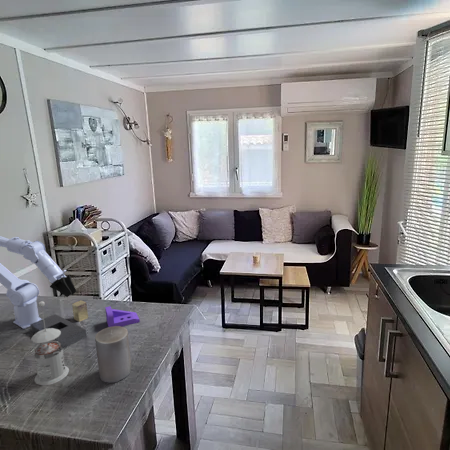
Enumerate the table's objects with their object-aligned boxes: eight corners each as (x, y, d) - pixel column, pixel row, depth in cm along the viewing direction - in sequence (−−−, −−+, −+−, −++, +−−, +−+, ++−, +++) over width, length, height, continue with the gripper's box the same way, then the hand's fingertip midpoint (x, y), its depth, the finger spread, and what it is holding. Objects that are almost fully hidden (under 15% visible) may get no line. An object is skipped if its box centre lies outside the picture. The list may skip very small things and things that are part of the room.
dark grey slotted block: (31, 331, 132) (30, 324, 131) (56, 320, 140) (55, 314, 139) (61, 349, 119) (60, 342, 118) (86, 336, 127) (85, 329, 126)
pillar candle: (106, 362, 111) (101, 322, 108) (135, 362, 111) (131, 322, 107) (94, 383, 102) (88, 339, 98) (126, 383, 101) (121, 339, 98)
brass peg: (74, 319, 141) (72, 303, 139) (82, 315, 144) (80, 300, 142) (79, 321, 138) (77, 306, 137) (88, 317, 142) (86, 302, 140)
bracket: (109, 330, 132) (107, 314, 130) (106, 322, 138) (105, 307, 136) (139, 322, 137) (138, 307, 136) (136, 315, 143) (134, 300, 142)
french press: (45, 389, 99) (33, 312, 94) (24, 376, 105) (12, 303, 100) (75, 371, 107) (65, 299, 102) (54, 359, 113) (44, 291, 108)
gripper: (51, 261, 125) (76, 289, 125) (62, 260, 139) (84, 285, 140) (35, 274, 123) (60, 302, 124) (48, 272, 137) (70, 297, 138)
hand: (72, 294), depth 132 cm, fingers open, 7 cm apart
